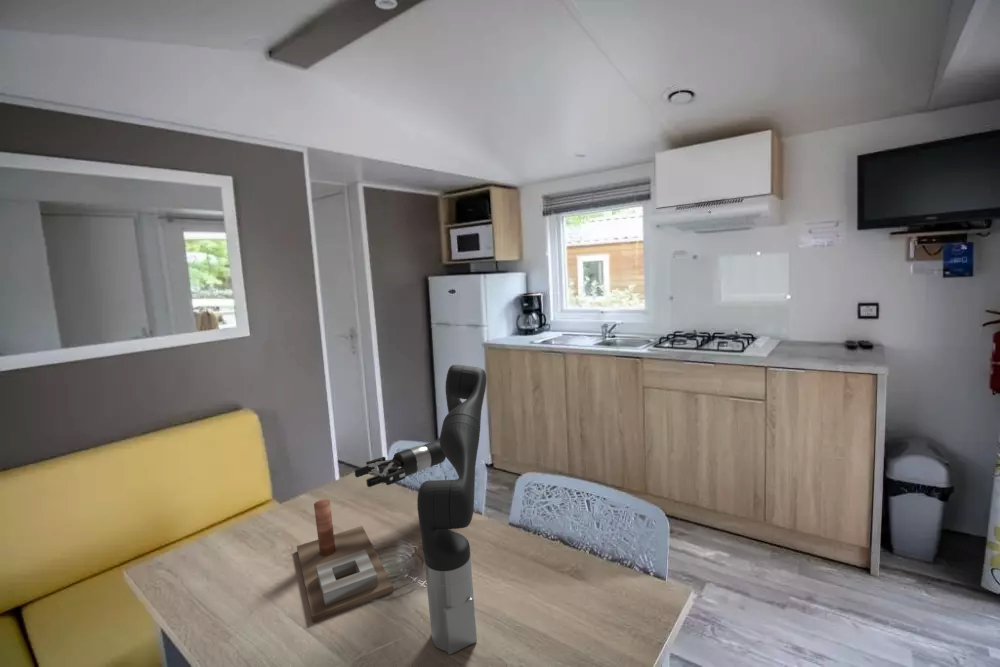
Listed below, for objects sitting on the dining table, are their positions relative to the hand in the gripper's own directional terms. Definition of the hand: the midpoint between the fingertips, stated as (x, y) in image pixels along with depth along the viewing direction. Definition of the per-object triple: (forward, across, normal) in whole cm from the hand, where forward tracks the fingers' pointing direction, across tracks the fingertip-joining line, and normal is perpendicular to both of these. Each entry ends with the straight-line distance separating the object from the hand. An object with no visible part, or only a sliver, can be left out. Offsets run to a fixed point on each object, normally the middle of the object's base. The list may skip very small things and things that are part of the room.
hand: (361, 478), depth 132 cm
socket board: (+11, +9, +18) cm, 23 cm away
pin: (+11, 0, +17) cm, 20 cm away
